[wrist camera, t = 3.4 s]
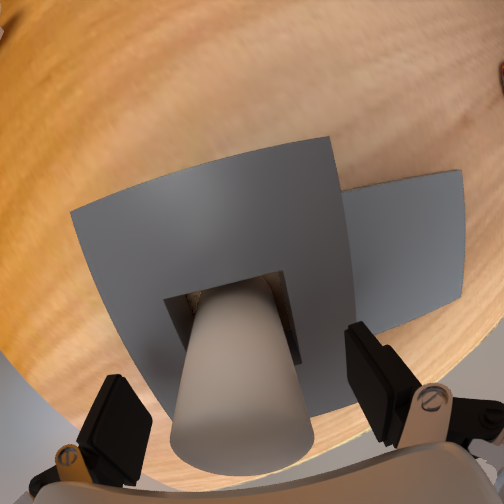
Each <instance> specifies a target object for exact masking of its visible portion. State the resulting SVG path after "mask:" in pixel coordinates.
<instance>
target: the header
mask: <svg viewBox="0 0 504 504" xmlns="http://www.w3.org/2000/svg"><path fill="white" fill-rule="evenodd" d="M70 214H71V218H72V221H73V224H74V227H75V231H76V234H77V237H78V240H79V243H80V245H81V248H82V251H83V254H84V257H85V259H86V262H87V264H88V267H89V270H90V272H91V275H92V277H93V280H94V282H95V284H96V287H97V289H98V291H99V294H100V296H101V298H102V300H103V303H104V305H105V307H106V309H107V311H108V313H109V316H110V318H111V320H112V322H113V324H114V326H115V328H116V330H117V332H118V334H119V336H120V337H121V339H122V341H123V343H124V345H125V347H126V349H127V350H128V352H129V354H130V356H131V358H132V359H133V361H134V363H135V365H136V366H137V368H138V370H139V371H140V373H141V375H142V376H143V378H144V380H145V381H146V383H147V384H148V386H149V388H150V389H151V391H152V392H153V394H154V395H155V397H156V398H157V400H158V401H159V403H160V404H161V406H162V407H163V409H164V410H165V412H166V413H167V414H168V416H169V417H170V419H171V420H172V421H173V418H174V413H175V407H176V402H177V397H178V392H179V387H180V382H181V377H182V373H183V368H184V363H185V358H186V354H187V349H188V345H189V340H190V336H191V331H192V327H193V323H194V317H193V314H192V312H191V309H190V307H189V304H188V301H187V299H186V296H185V294H188V293H192V292H196V291H200V290H205V289H209V288H213V287H217V286H221V285H225V284H229V283H233V282H237V281H241V280H245V279H249V278H253V277H257V276H261V275H265V274H269V273H273V272H277V271H278V275H279V279H280V284H281V288H282V293H283V297H284V301H285V306H286V311H287V315H288V320H289V324H290V330H286V331H284V334H285V337H286V341H287V344H288V347H289V351H290V354H291V357H292V361H293V364H294V367H295V371H296V374H297V377H298V381H299V384H300V387H301V391H302V394H303V398H304V401H305V404H306V408H307V411H308V415H309V418H311V417H314V416H318V415H321V414H325V413H328V412H331V411H334V410H337V409H340V408H343V407H346V406H349V405H352V404H355V403H358V401H357V399H356V397H355V395H354V393H353V391H352V389H351V387H350V385H349V383H348V379H347V366H346V350H345V337H344V330H346V329H348V325H350V324H353V323H356V322H357V319H356V305H355V292H354V282H353V272H352V263H351V254H350V246H349V239H348V232H347V225H346V219H345V212H344V206H343V201H342V195H341V190H340V184H339V179H338V174H337V169H336V164H335V160H334V155H333V151H332V146H331V142H330V138H329V136H327V137H321V138H315V139H309V140H303V141H298V142H293V143H287V144H283V145H278V146H273V147H268V148H264V149H259V150H255V151H251V152H246V153H242V154H238V155H234V156H230V157H226V158H223V159H219V160H215V161H211V162H208V163H204V164H201V165H197V166H194V167H191V168H187V169H184V170H181V171H177V172H174V173H171V174H168V175H165V176H162V177H159V178H156V179H153V180H150V181H147V182H144V183H141V184H138V185H136V186H133V187H130V188H127V189H125V190H122V191H119V192H117V193H114V194H112V195H109V196H107V197H104V198H102V199H99V200H97V201H94V202H92V203H89V204H87V205H85V206H82V207H80V208H78V209H75V210H73V211H71V212H70Z"/></svg>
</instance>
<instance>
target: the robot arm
mask: <svg viewBox="0 0 504 504" xmlns="http://www.w3.org/2000/svg"><path fill="white" fill-rule="evenodd" d="M344 337H345V350H346V366H347V379H348V383H349V385H350V387H351V389H352V391H353V393H354V395H355V397H356V399H357V401H358V403H359V404H360V406H361V408H362V410H363V412H364V414H365V416H366V418H367V420H368V422H369V424H370V426H371V428H372V430H373V432H374V434H375V436H376V439H377V440H378V442H382V441H383V442H384V444H385V446H386V447H387V446H390V445H392V444H393V446H394V448H396V449H397V450H394V451H391V452H387V453H384V454H382V455H379V456H376V457H373V458H370V459H367V460H364V461H361V462H359V463H355V464H352V465H349V466H346V467H343V468H340V469H337V470H333V471H330V472H326V473H323V474H319V475H315V476H311V477H307V478H303V479H299V480H294V481H290V482H285V483H280V484H274V485H269V486H261V487H254V488H247V489H237V490H227V491H210V492H164V491H163V492H162V491H148V490H137V489H128V488H123V484H124V485H127V486H136V482H137V481H138V480H139V479H140V475H141V470H142V465H143V461H144V456H145V452H146V448H147V443H148V439H149V435H150V431H151V427H152V422H153V421H152V417H151V415H150V413H149V412H148V411H147V409H146V408H145V406H144V405H143V404H142V402H141V401H140V399H139V398H138V396H137V395H136V393H135V392H134V390H133V389H132V387H131V386H130V384H129V383H128V381H127V380H126V378H125V377H122V375H120V374H113V375H108V376H107V377H106V379H105V381H104V383H103V385H102V387H101V389H100V391H99V393H98V395H97V397H96V399H95V401H94V403H93V405H92V407H91V409H90V411H89V413H88V415H87V418H86V420H85V422H84V424H83V426H82V429H81V431H80V433H79V435H78V438H77V440H76V442H77V443H78V444H79V446H78V447H77V446H75V445H72V444H70V445H69V444H68V445H65V446H63V447H62V448H60V449H59V450H58V452H57V454H56V457H55V463H56V465H55V466H53V467H52V468H50V469H48V470H46V471H44V472H42V473H41V474H39V475H37V476H35V477H34V478H33V479H32V480H31V481H30V484H29V492H30V493H29V492H28V491H26V492H25V493H24V494H23V495H22V496H21V497H20V498H19V499H18V500H17V501H16V502H15V503H14V504H504V404H503V403H501V402H499V401H493V400H478V399H466V398H457V397H453V395H452V392H451V390H450V389H449V388H448V387H447V386H445V385H443V384H440V383H428V384H425V385H423V386H422V384H421V383H420V382H419V381H418V379H417V378H416V377H415V376H414V374H413V373H412V372H411V370H410V369H409V368H408V367H407V365H406V364H405V363H404V362H403V361H402V359H401V358H400V357H399V356H398V354H397V353H396V352H395V351H394V349H393V348H392V347H391V346H390V345H388V344H387V345H385V346H382V345H381V344H380V342H379V341H378V340H377V339H376V337H375V336H374V335H373V334H372V332H371V331H370V330H369V329H368V327H367V326H366V325H365V324H364V322H363V321H359V322H356V323H353V324H350V325H348V329H346V330H344ZM477 458H482V459H485V460H487V461H486V463H488V464H490V465H492V466H494V467H495V468H496V470H497V479H496V482H495V484H494V486H493V484H492V483H491V481H490V479H489V478H488V476H487V475H486V473H485V472H484V470H483V469H482V468H481V466H480V465H479V464H478V462H477V461H476V460H475V459H477Z"/></svg>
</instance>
